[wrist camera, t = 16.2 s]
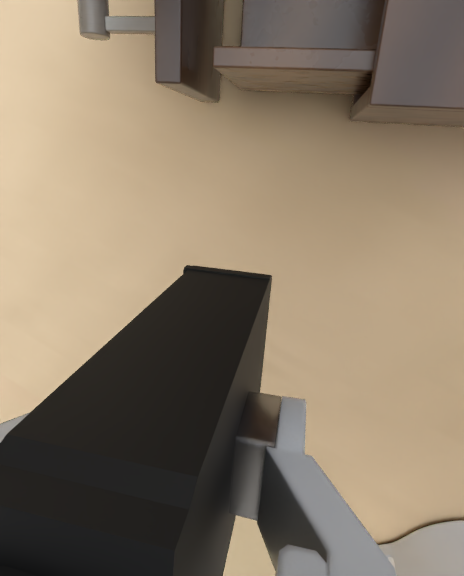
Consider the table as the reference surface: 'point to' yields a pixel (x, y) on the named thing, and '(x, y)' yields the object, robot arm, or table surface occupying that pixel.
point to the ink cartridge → (140, 441)
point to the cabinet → (417, 66)
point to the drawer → (253, 44)
